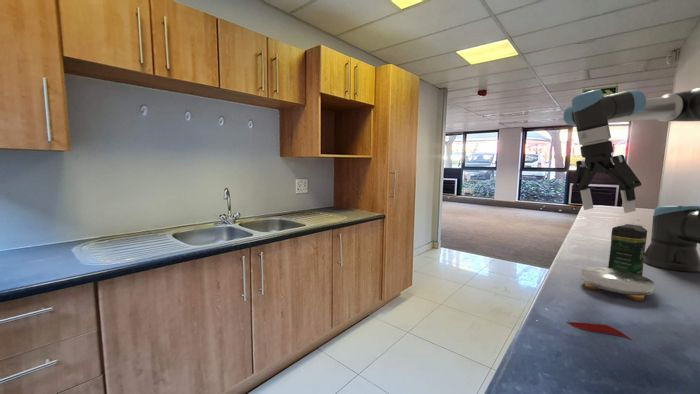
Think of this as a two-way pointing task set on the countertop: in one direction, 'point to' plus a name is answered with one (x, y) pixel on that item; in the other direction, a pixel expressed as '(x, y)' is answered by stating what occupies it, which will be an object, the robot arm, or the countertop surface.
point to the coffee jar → (628, 248)
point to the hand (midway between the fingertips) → (607, 210)
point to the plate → (617, 282)
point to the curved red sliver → (598, 328)
